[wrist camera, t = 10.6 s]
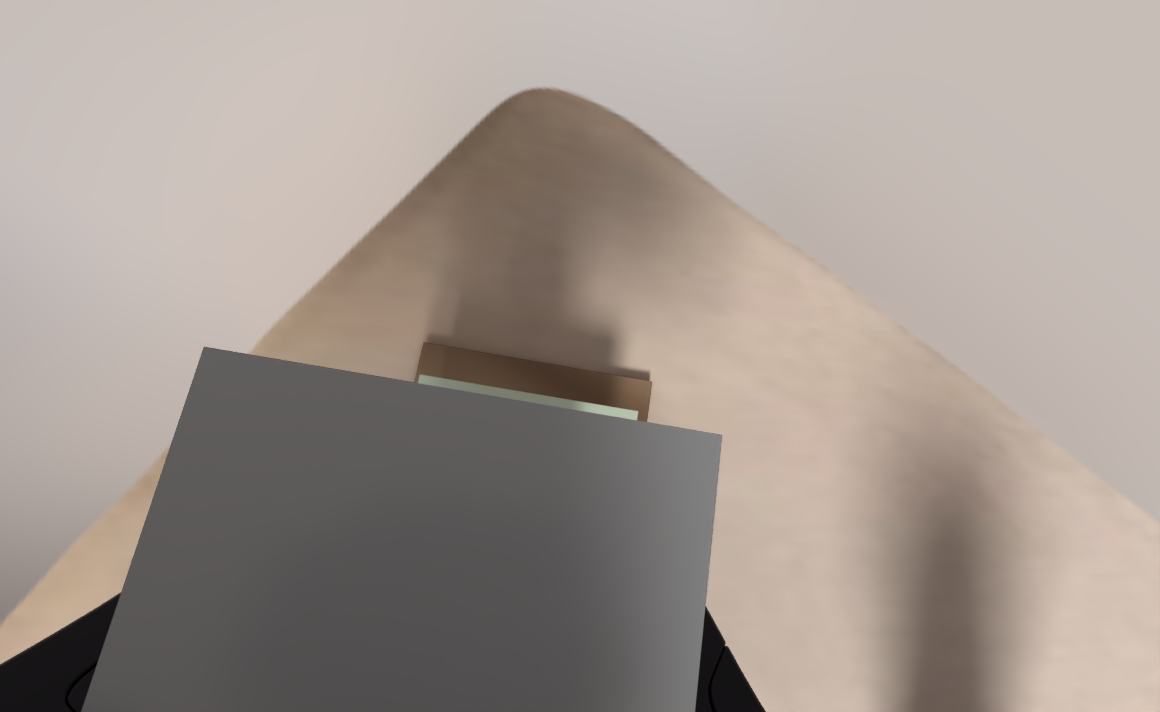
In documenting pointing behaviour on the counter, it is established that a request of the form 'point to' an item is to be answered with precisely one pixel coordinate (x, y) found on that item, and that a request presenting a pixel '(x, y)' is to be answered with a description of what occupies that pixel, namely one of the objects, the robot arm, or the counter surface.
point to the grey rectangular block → (410, 553)
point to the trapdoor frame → (535, 378)
